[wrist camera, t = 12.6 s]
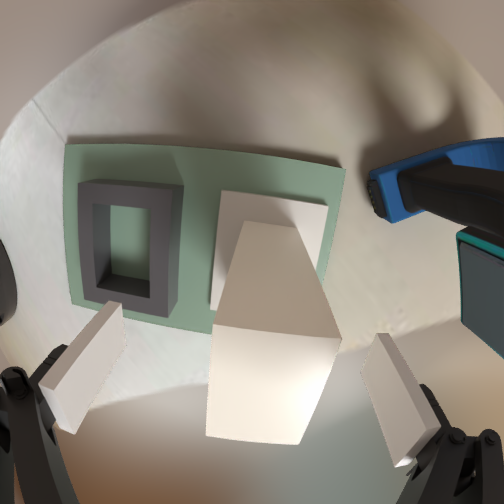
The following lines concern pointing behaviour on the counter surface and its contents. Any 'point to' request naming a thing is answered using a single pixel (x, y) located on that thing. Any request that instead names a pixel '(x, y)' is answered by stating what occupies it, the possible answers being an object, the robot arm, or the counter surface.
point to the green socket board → (181, 223)
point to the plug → (269, 340)
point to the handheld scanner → (458, 219)
